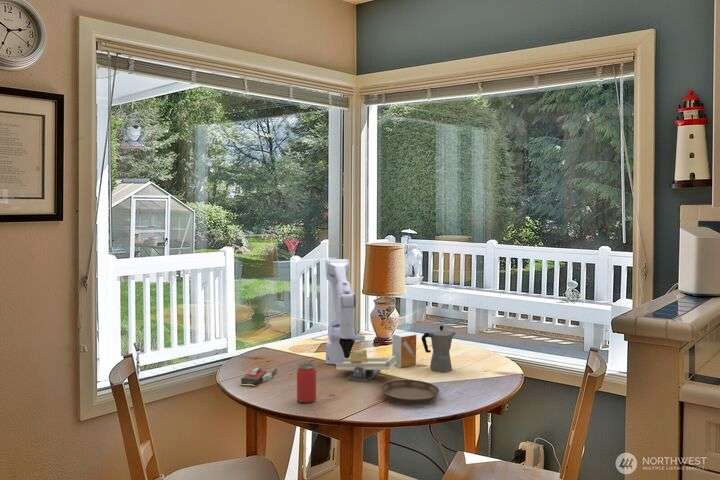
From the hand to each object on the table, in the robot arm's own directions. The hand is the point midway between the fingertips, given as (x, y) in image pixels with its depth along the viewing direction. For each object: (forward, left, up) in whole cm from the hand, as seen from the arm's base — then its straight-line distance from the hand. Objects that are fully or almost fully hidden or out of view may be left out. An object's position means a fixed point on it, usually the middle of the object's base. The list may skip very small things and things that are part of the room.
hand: (347, 357), depth 239 cm
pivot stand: (+7, 0, -6) cm, 10 cm away
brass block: (+5, 0, -2) cm, 6 cm away
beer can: (-1, -34, -7) cm, 35 cm away
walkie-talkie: (-29, -19, -7) cm, 35 cm away
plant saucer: (+31, -17, -7) cm, 36 cm away
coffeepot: (+32, +19, -7) cm, 38 cm away
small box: (+17, +20, -7) cm, 27 cm away
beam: (+7, 0, -3) cm, 8 cm away
